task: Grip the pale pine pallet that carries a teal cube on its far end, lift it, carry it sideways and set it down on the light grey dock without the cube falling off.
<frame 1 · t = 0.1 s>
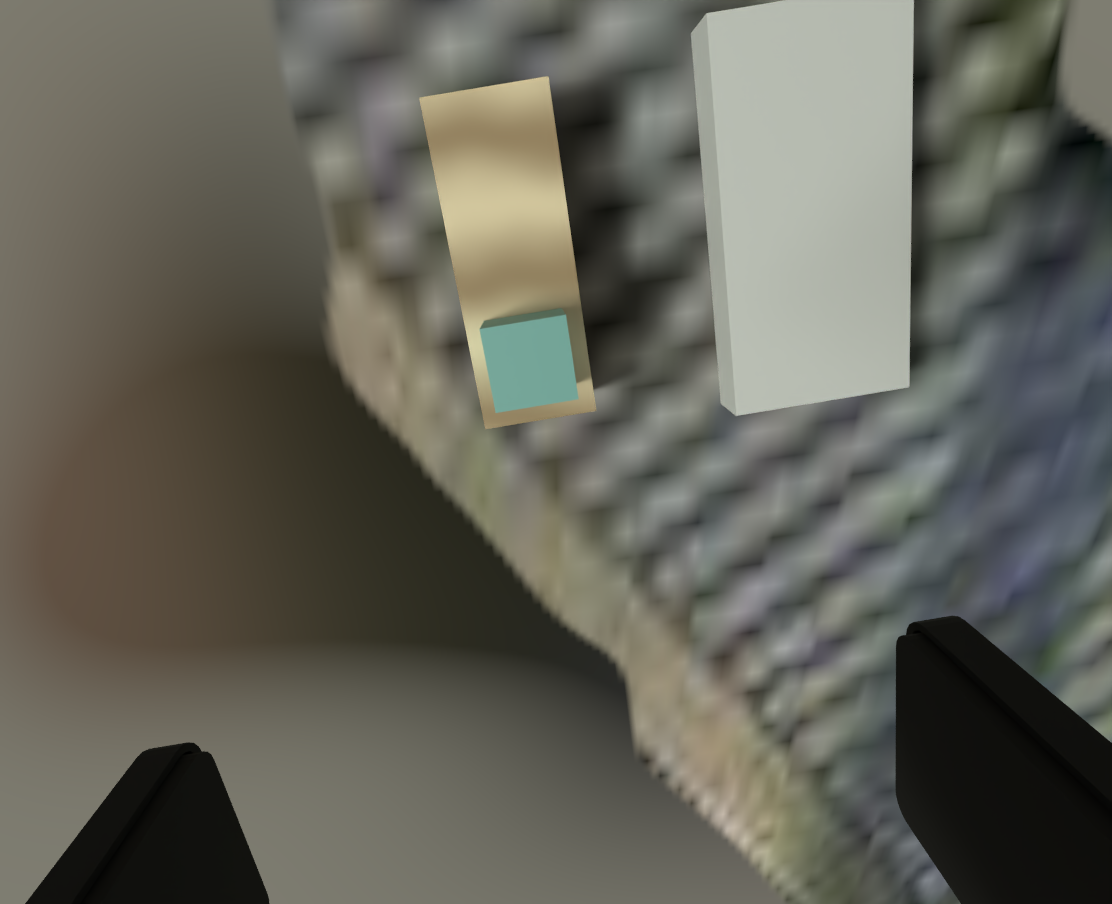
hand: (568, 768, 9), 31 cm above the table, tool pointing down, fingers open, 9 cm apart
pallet: (515, 263, 37), on the table, touching teal cube
teal cube: (529, 353, 33), point 5 cm above the table, touching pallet
dock: (794, 219, 36), on the table
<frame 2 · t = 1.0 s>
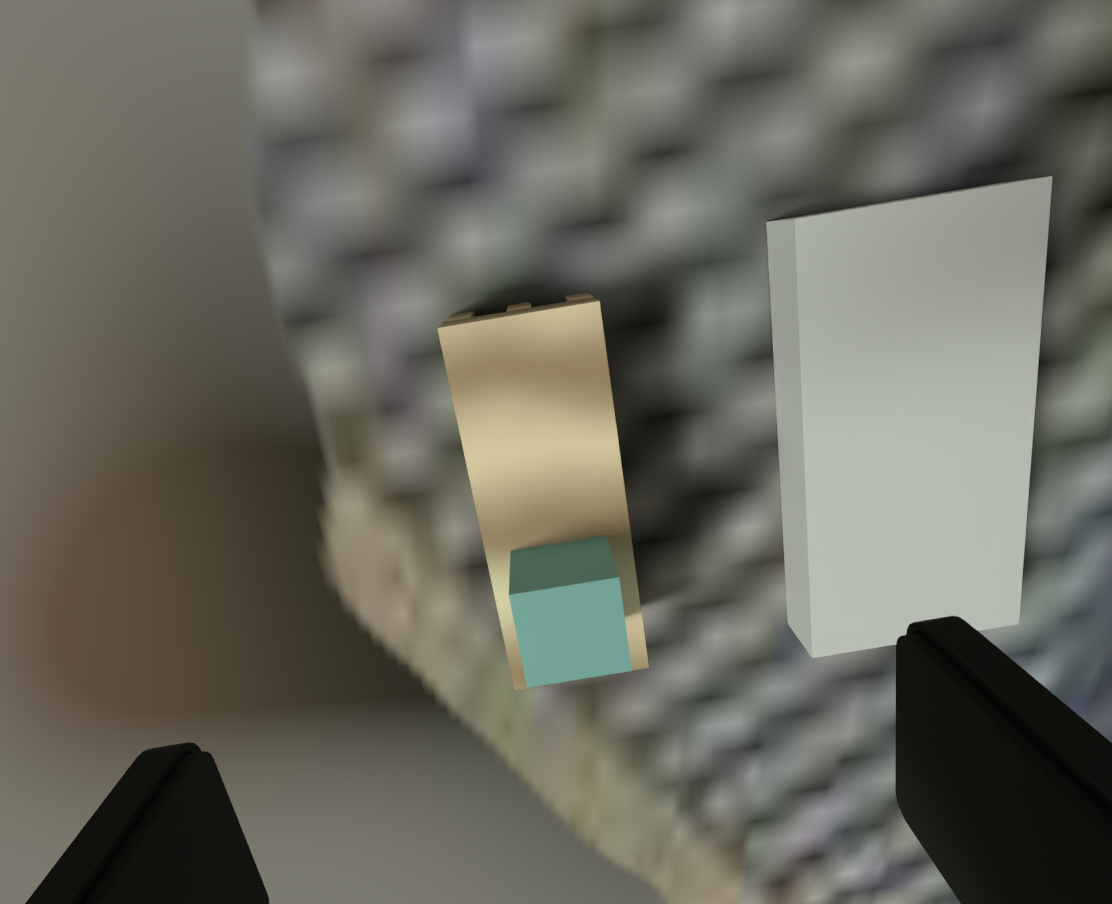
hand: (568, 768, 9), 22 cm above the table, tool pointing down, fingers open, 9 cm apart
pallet: (548, 472, 31), on the table, touching teal cube
teal cube: (565, 586, 27), point 5 cm above the table, touching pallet
dock: (881, 425, 31), on the table
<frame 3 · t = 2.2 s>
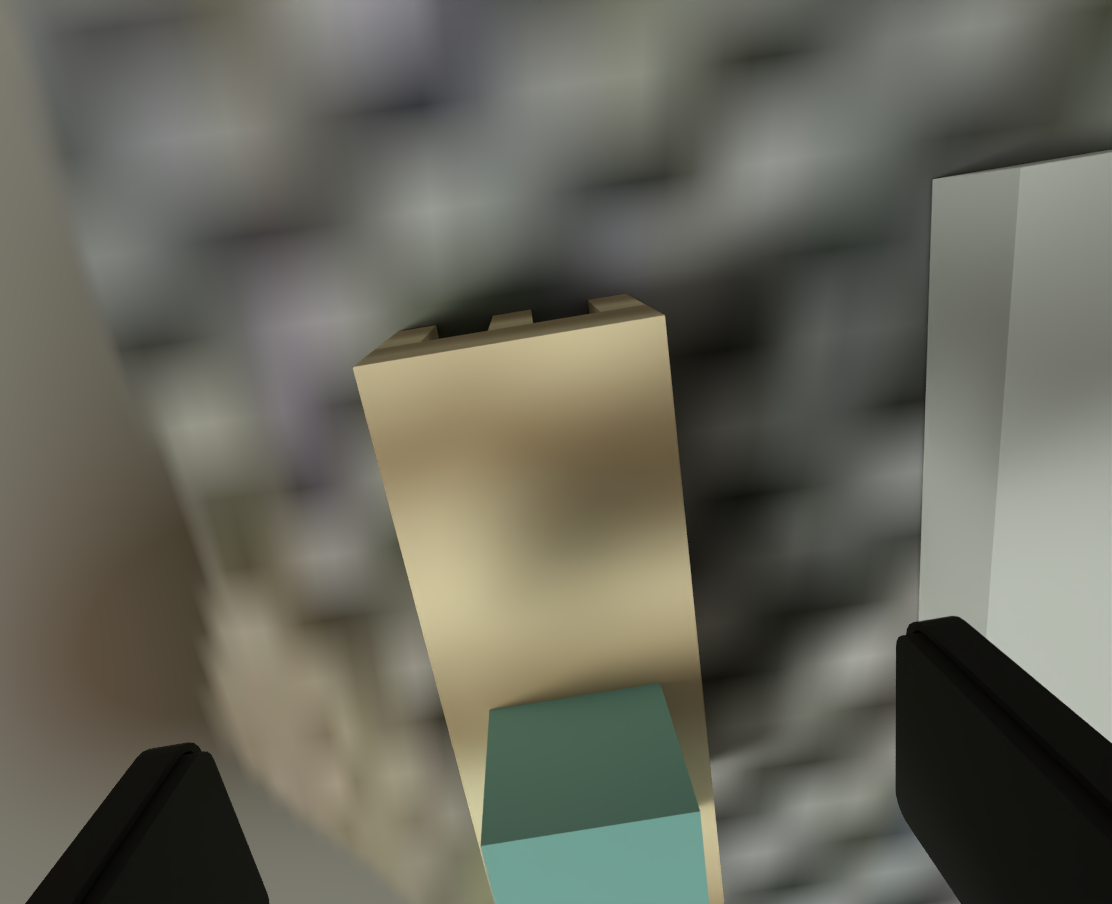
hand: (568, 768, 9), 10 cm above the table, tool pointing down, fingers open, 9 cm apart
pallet: (558, 576, 19), on the table, touching teal cube
teal cube: (586, 763, 16), point 5 cm above the table, touching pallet
dock: (1084, 506, 19), on the table
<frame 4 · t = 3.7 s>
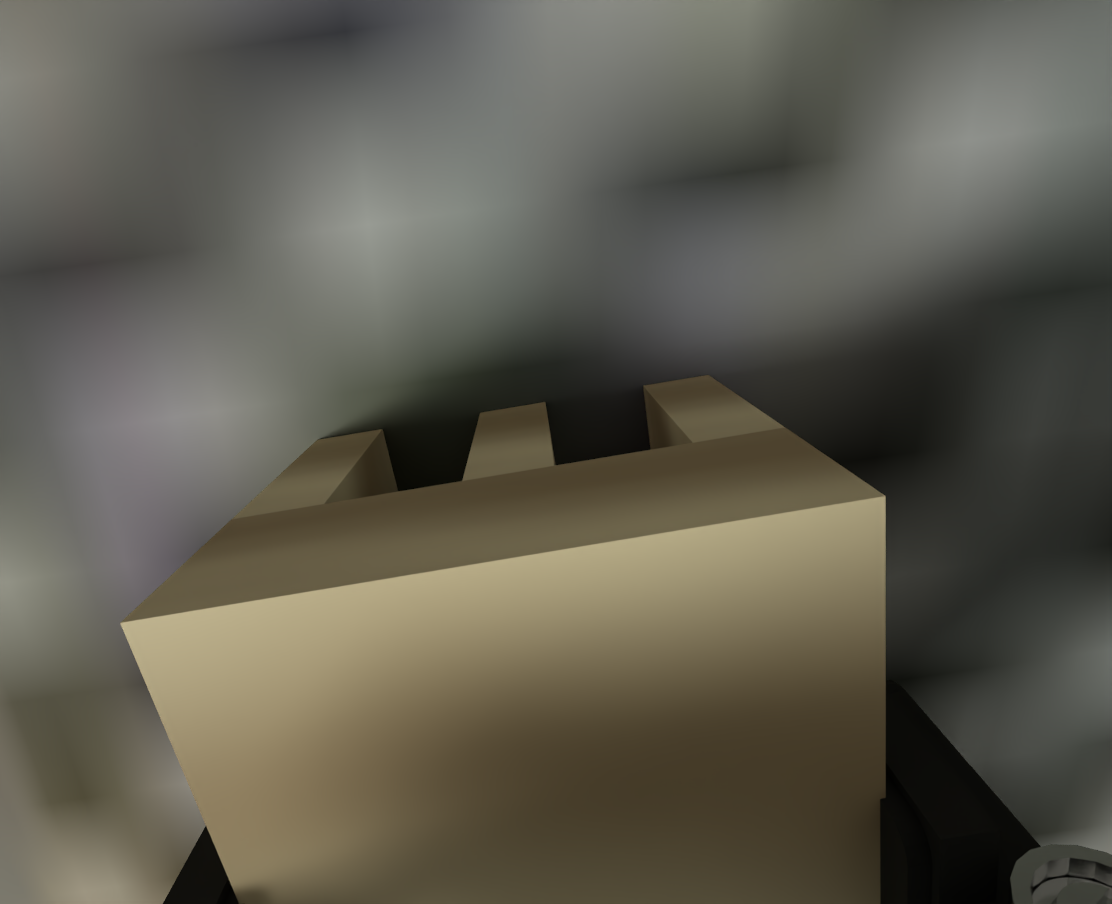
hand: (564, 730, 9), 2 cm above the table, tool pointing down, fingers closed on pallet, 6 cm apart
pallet: (587, 813, 12), on the table, touching gripper, teal cube
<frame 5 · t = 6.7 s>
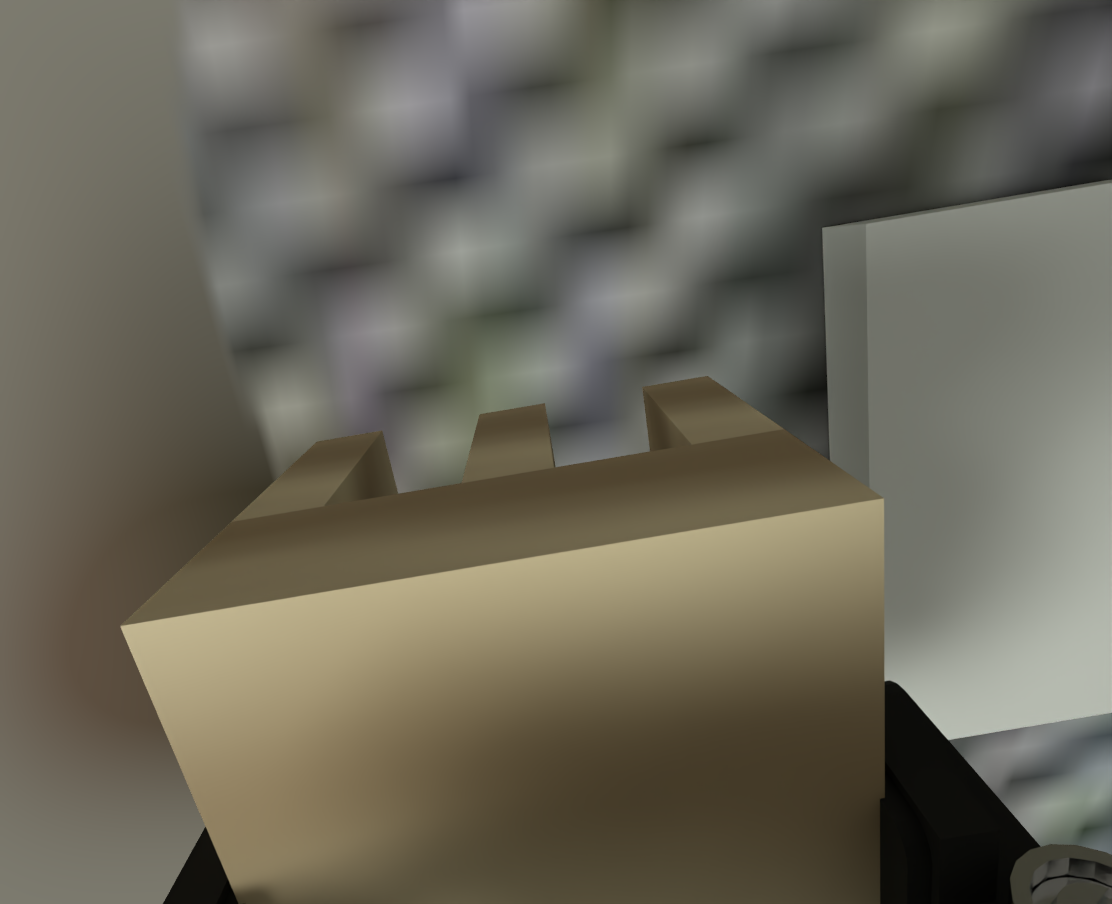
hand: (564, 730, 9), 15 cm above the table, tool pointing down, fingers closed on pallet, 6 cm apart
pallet: (587, 813, 12), point 14 cm above the table, touching gripper, teal cube
dock: (955, 471, 25), on the table
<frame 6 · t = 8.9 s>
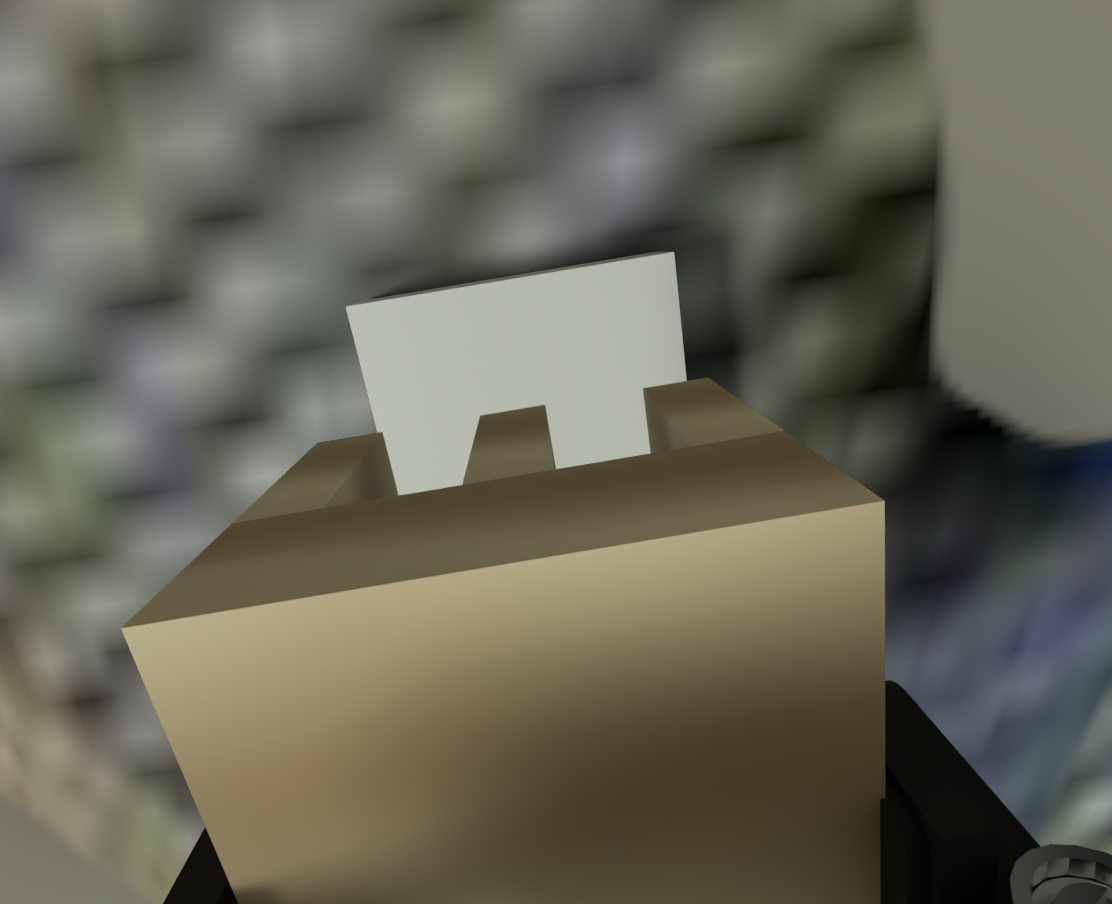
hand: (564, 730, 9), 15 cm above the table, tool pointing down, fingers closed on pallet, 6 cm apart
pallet: (587, 814, 12), point 13 cm above the table, touching gripper, teal cube
dock: (556, 536, 25), on the table
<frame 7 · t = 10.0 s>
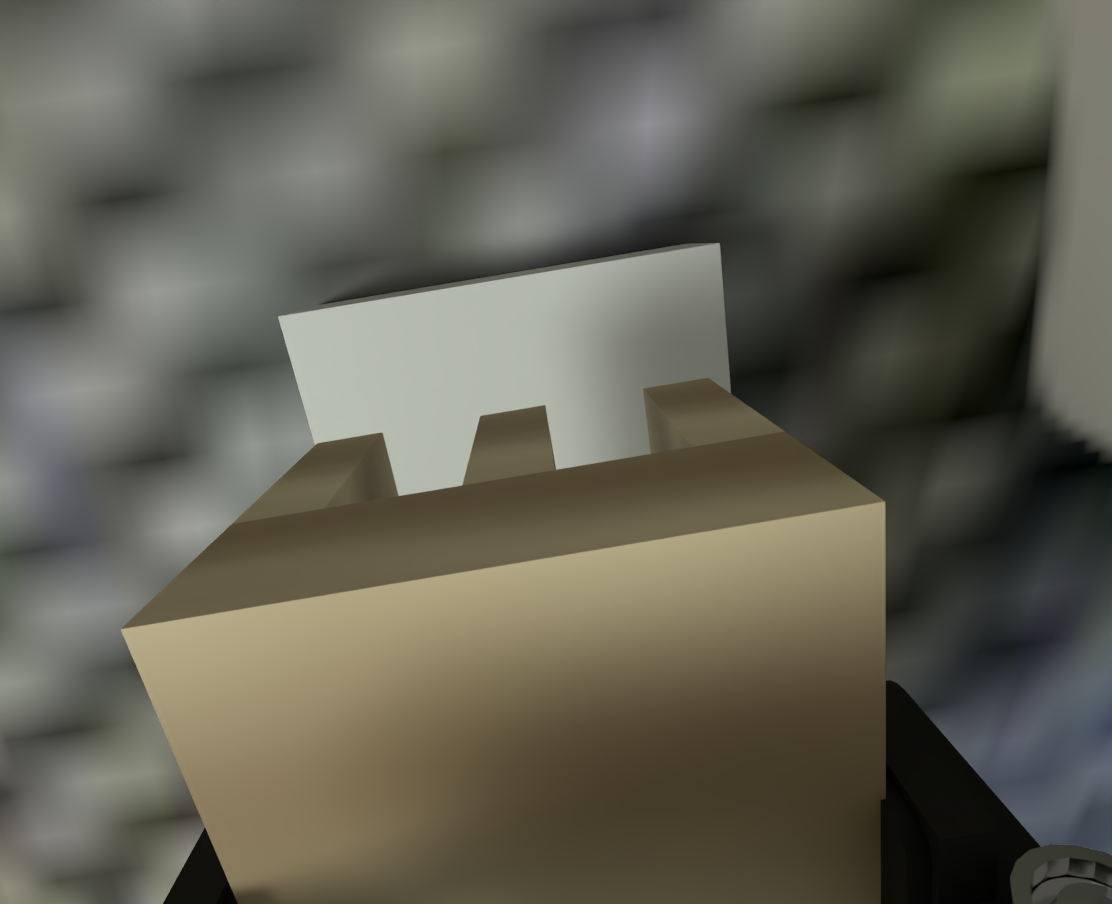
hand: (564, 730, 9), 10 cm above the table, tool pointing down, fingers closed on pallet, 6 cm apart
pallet: (588, 815, 12), point 8 cm above the table, touching gripper, teal cube
dock: (560, 598, 20), on the table
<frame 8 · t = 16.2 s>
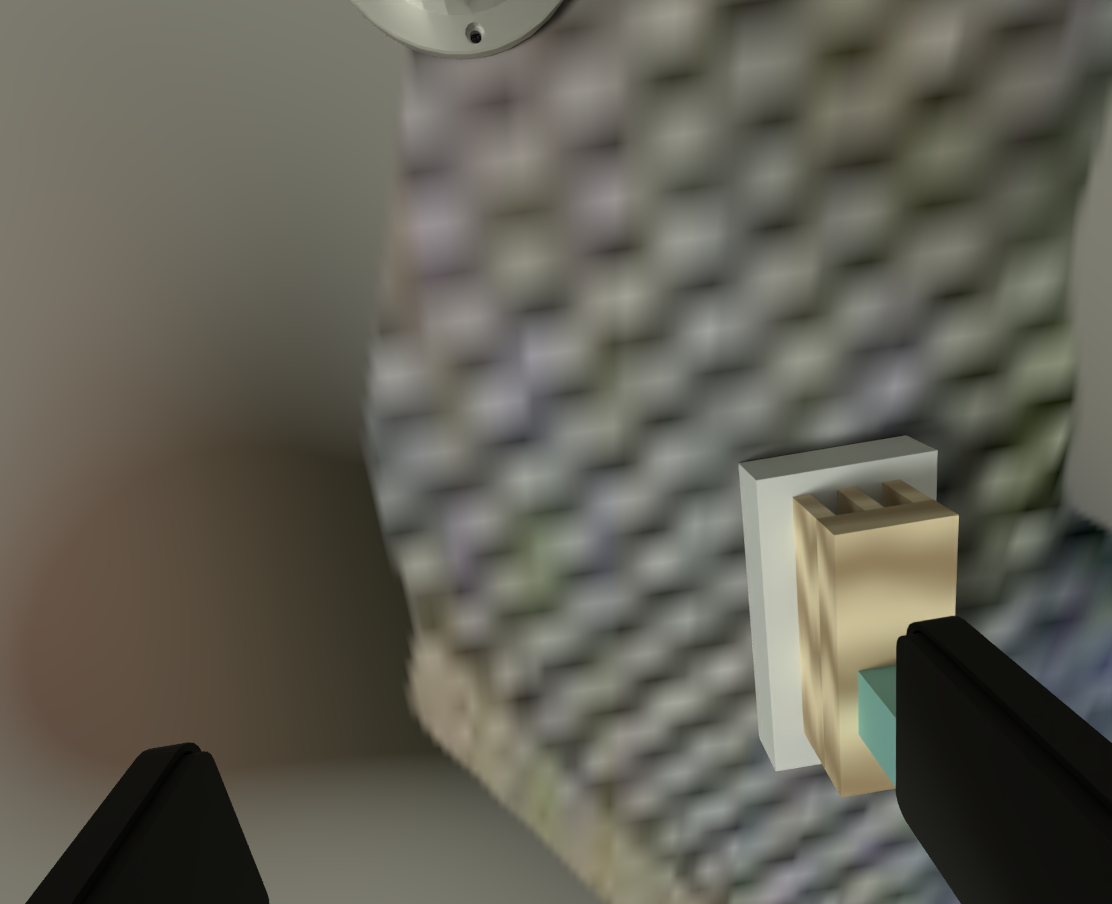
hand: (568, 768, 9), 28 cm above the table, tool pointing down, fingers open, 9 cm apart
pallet: (848, 614, 38), point 3 cm above the table, touching dock, teal cube
teal cube: (896, 697, 34), point 8 cm above the table, touching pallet
dock: (827, 597, 41), on the table
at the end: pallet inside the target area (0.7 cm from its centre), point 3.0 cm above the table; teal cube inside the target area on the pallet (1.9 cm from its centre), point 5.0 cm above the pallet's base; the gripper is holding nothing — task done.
